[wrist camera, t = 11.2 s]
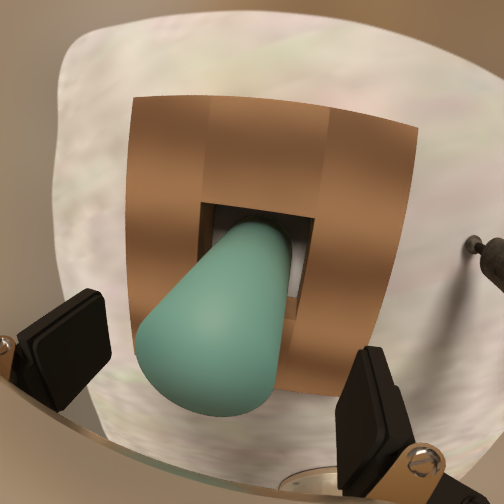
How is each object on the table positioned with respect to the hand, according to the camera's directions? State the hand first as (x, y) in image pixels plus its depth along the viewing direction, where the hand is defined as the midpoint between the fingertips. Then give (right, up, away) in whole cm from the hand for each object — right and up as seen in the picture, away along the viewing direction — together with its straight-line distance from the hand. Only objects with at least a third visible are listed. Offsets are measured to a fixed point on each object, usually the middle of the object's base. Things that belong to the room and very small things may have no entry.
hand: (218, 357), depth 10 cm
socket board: (+2, +4, +10) cm, 11 cm away
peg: (+2, +4, +10) cm, 11 cm away
